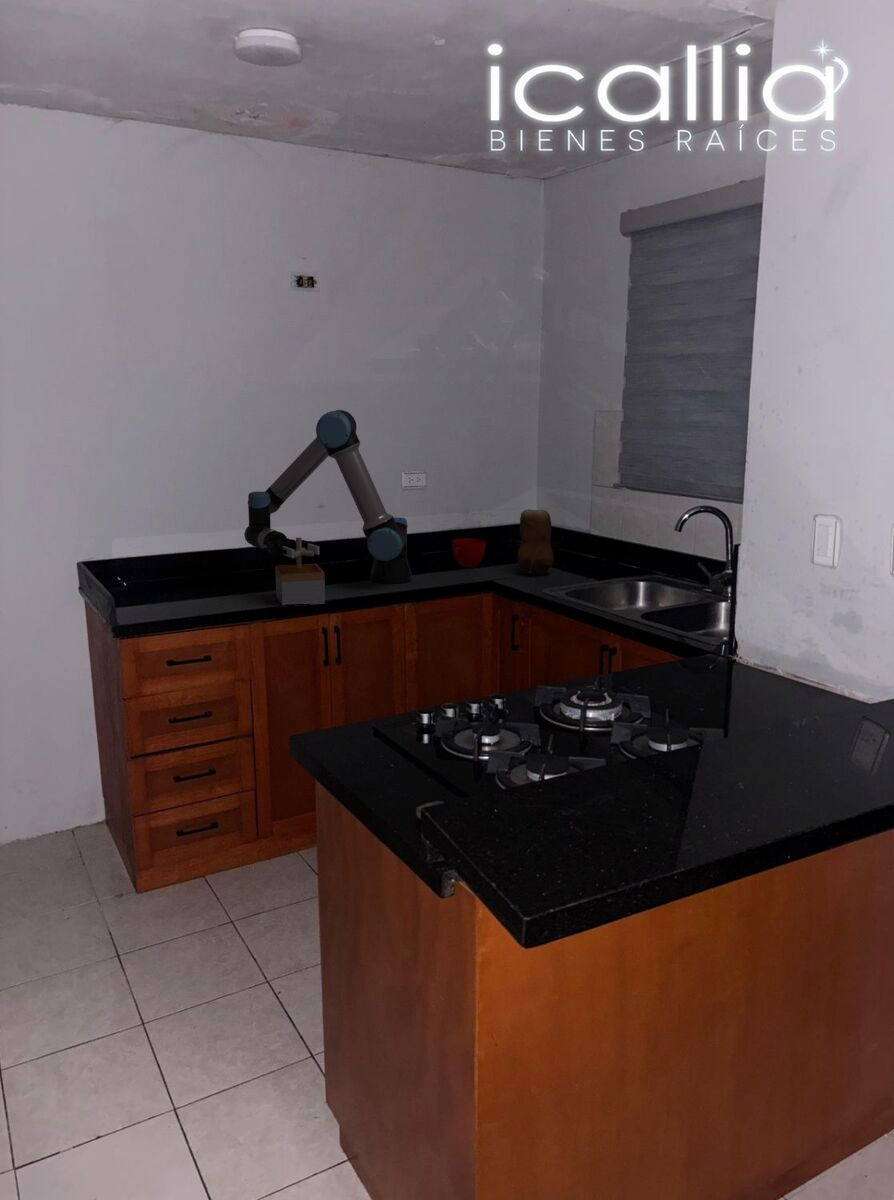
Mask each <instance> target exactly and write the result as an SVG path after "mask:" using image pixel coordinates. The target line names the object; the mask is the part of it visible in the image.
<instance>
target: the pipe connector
mask: <svg viewBox="0 0 894 1200" xmlns="http://www.w3.org/2000/svg"><path fill="white" fill-rule="evenodd" d="M302 540H303V539H302V537H300V536H299V537H295V541H296V549H295V550H294V558H293V559H295V562H296V563H295V565H296V568H302V565H303V560H302V559H303V556H306V557H314V556H315V554H314V551H308V550H307V549H306V548H302Z"/></svg>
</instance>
